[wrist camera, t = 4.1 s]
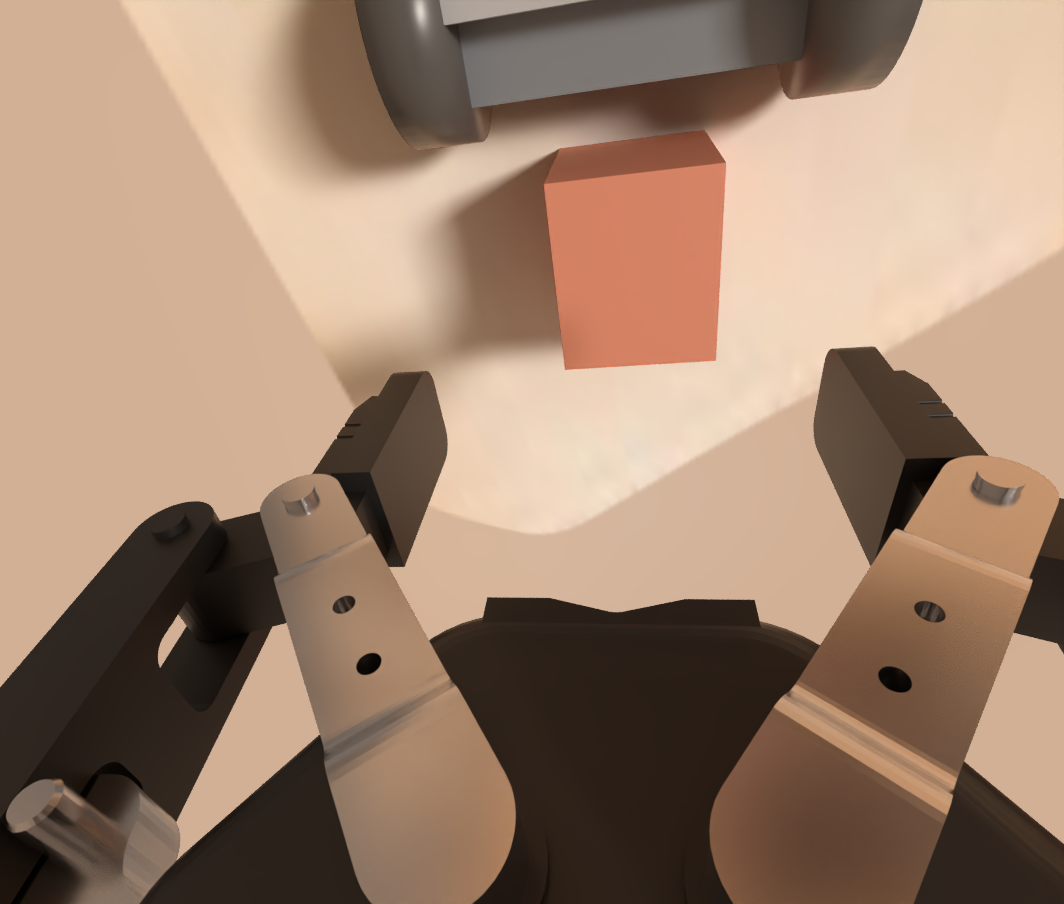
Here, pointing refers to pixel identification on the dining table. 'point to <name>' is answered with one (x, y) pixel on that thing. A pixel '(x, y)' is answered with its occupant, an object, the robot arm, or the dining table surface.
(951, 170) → the dining table surface
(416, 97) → the chassis
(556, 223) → the terracotta rectangular box
